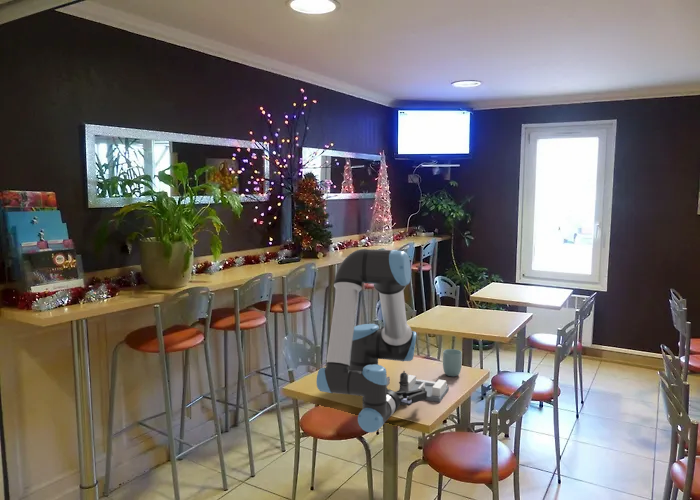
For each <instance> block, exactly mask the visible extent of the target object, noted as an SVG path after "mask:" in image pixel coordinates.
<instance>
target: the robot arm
mask: <svg viewBox="0 0 700 500" xmlns="http://www.w3.org/2000/svg"><path fill="white" fill-rule="evenodd" d="M411 275H412V271H411V261H410V257H409V255H408V253H407V252H405V251H403V250H397V249H368V248H361V249H357V250H355V251H353V252H351V253H350V254H349V255H347V256H346V257H345V259H344V260H343V261H342V262H341V263H340V265H339V267H338V269H337V271H336V273H335V275H334V276H335V277H334V282H333V287H334V288H335V298H334V305H333V310H332V311H333V312H332V317H331V318H332V319H331V326H330V334H329V340H328V348H327V356H326V364H325V367H320V368H319V369H318V371H317V375H316V387H317V390H318V391H319V392H325V393H330V394H339V395H341V394H342V395H351V396H358V397H359V396H360V397H362V409H361V411H359V413H358V415H357V424H358V425H359V427H360V429H362V431H364V432H366V433H371V434H372V433H374V432H376V431H378V430H379V429H381V428H382V427H383V425H384V424H385V423H386V422H387V421H388V420H389V419H390V417H392V416H393V414H394V413H395V412H396V411H397V410H398V409H399V407H400V406H401V405H400V404H401V403H403V402H405V403H407V405H406V406H412V405H413V404H415V403H418V402H421V401H425V400H424V399H427V391H425V382H423V383H422V384H421V385H420V386H419V387H418V390H414V391H408V392H404V391H401V392H396V391H394V390H391V389H388V386H390V383H391V382H390V381H391V378H390V376H387V369H386V368H385V367H384V366H383V365H381V364H379V360H385V361H386V360H387V361H396V362H412V361H413V360H414V355H415V348H416V343H417V342H416V340H417V332H416V331H414V330H412V328H411V326H410V325H409V324H408V323H407V321H408V320H407V312H406V305H405V304H406V303H405V294H404V290H405V288H406V287H407V286H408V285H410V282H411V277H412V276H411ZM363 284H371V285H372V284H373V288H374V290H375V291H377V292H378V295H379V300H380V306H381V307H380V308H381V313H382V319H383V320H382V321H383V326H384V327H383V328H382V329H381V328H380V327H379V325H378V324H375V323H362V324H358V325H355V323H356V315H357V314H356V313H357V307H358V298H359V293H360V292H361V291H363ZM401 394H402V395H401Z"/></svg>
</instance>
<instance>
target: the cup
mask: <svg viewBox="0 0 700 500" xmlns="http://www.w3.org/2000/svg"><path fill="white" fill-rule="evenodd" d="M462 359H463V352H462V350H460V349H456V348H455V349H453V348H448V349H446V348H445V349H444V350H443V351H442V368H443V369H442V370H443V372H444V374H445V375H446V376H448V377H457V376H459V375H460V373H461V370H462V362H463V360H462Z"/></svg>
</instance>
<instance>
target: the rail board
mask: <svg viewBox="0 0 700 500" xmlns="http://www.w3.org/2000/svg"><path fill="white" fill-rule="evenodd" d="M408 382H409V384H408V391H414V390H418V387H419V386H420V385H421V384H422V383H423V382H425V391H427V399H424V400H423V401H429V402H434V403H441V401H442V400H443V398H444V397H445V396H446V395H447V393H449V390H450V389H449V388H450V386H448V383H447V380H444V379H440V378H439V379H437V381H431V380H424V379H420V378H419V379H417V375H413V374H408Z"/></svg>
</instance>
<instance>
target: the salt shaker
mask: <svg viewBox="0 0 700 500" xmlns="http://www.w3.org/2000/svg"><path fill="white" fill-rule="evenodd" d="M408 375H409V374H408V373H407V372H406V371H405V370H403V371H402V372H401V373H400V375H399V382H398V384H399V388H398V390H396V391H395V392H401V391H404V392H408V384H409V382H408ZM401 395H402V394H401ZM399 406H408V405H407V403H405V402H403V403H401V404H400V405H399Z"/></svg>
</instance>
